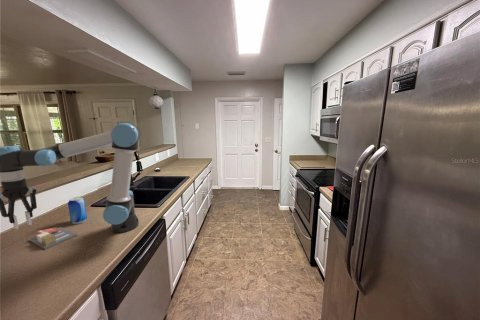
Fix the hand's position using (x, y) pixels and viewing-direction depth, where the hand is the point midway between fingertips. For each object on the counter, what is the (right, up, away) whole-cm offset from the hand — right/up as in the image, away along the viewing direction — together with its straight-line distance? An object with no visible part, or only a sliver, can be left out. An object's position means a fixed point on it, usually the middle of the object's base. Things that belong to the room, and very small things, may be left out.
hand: (23, 226), depth 95 cm
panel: (0, -12, +16) cm, 20 cm away
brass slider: (+3, -12, +10) cm, 16 cm away
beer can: (-1, -9, +35) cm, 36 cm away
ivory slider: (-1, -12, +12) cm, 16 cm away
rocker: (-5, -9, +17) cm, 20 cm away
